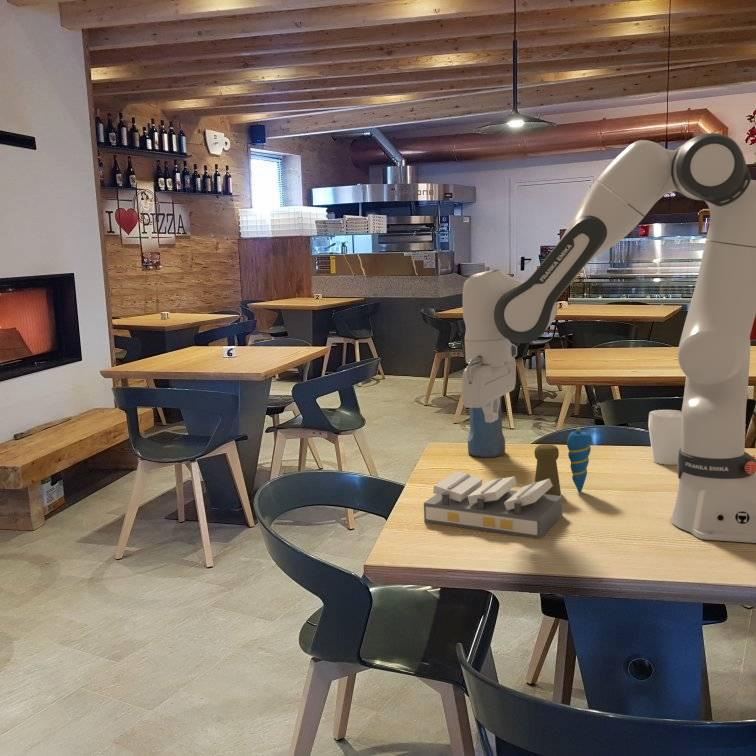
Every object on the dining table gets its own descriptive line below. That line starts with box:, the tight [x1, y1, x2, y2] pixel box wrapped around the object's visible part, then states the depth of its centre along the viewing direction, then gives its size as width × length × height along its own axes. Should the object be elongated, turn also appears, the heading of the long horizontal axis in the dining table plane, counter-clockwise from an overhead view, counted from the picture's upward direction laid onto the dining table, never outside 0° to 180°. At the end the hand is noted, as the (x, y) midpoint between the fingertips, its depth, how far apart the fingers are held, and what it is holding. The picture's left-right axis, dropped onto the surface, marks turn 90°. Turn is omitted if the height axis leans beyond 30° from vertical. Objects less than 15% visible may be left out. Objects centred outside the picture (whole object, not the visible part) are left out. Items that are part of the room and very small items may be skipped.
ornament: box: [566, 425, 592, 493], centre depth 174 cm, size 5×5×15 cm
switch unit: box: [423, 489, 563, 540], centre depth 160 cm, size 24×14×6 cm, turn 60°
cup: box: [647, 409, 682, 466], centre depth 194 cm, size 9×9×12 cm
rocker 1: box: [468, 475, 517, 504], centre depth 160 cm, size 6×11×2 cm, turn 150°
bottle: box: [467, 396, 506, 459], centre depth 207 cm, size 10×10×30 cm
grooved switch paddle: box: [432, 470, 484, 502], centre depth 163 cm, size 6×11×2 cm, turn 151°
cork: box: [533, 443, 562, 496], centre depth 173 cm, size 6×6×11 cm
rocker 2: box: [504, 478, 553, 511], centre depth 156 cm, size 6×11×2 cm, turn 150°
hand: (491, 421), depth 160 cm, fingers closed
